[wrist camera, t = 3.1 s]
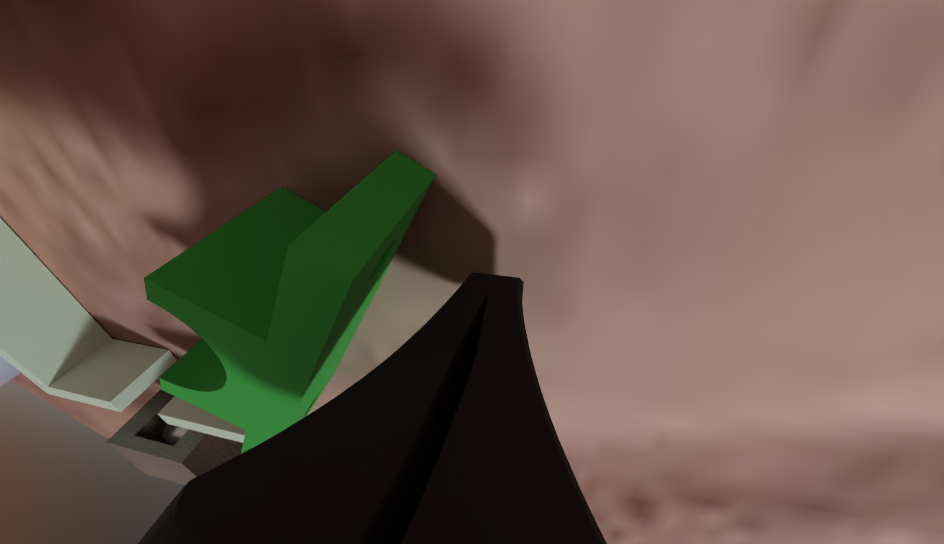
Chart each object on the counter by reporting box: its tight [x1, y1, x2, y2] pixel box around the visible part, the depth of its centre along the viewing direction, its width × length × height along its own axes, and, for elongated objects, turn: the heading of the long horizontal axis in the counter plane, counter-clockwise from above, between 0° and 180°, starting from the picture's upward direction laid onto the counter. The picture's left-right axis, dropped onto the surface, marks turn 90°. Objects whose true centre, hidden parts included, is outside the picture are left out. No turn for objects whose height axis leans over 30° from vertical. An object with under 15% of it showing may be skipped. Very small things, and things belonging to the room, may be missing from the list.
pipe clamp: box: [144, 150, 436, 454], centre depth 11 cm, size 11×4×5 cm, turn 152°
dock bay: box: [0, 218, 246, 443], centre depth 13 cm, size 12×16×3 cm
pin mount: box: [106, 390, 243, 485], centre depth 19 cm, size 3×4×4 cm
